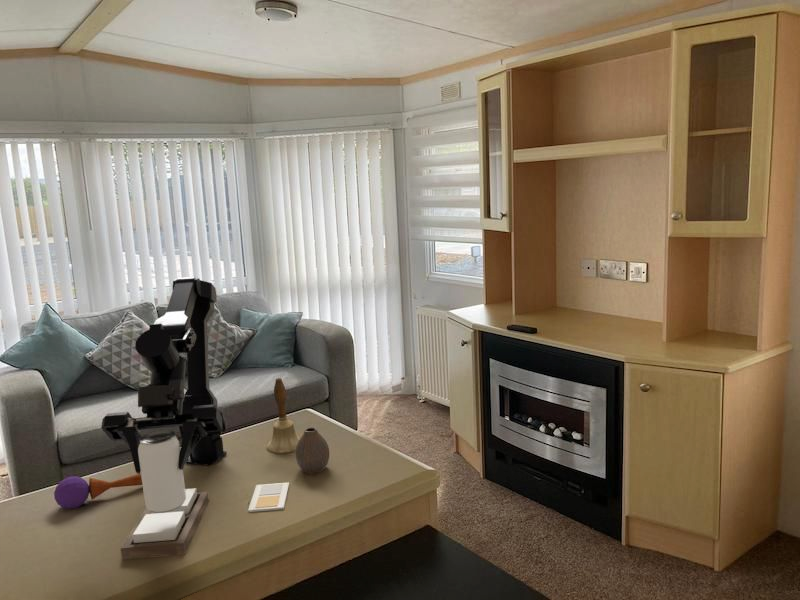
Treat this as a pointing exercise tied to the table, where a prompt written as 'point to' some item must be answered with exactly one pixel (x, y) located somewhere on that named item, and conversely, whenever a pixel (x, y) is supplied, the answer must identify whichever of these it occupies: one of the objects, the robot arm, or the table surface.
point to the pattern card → (269, 497)
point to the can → (161, 471)
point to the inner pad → (188, 503)
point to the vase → (312, 452)
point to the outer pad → (159, 527)
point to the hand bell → (282, 425)
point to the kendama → (87, 489)
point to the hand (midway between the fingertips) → (159, 470)
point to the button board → (173, 547)
